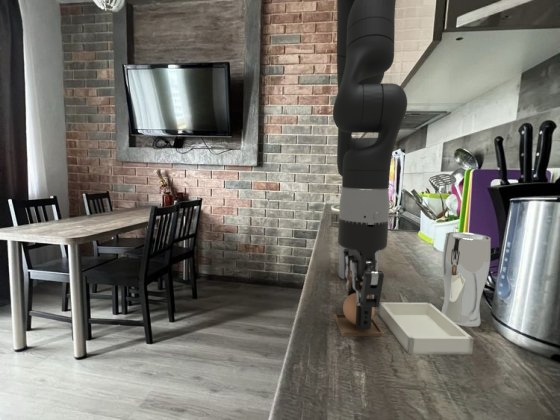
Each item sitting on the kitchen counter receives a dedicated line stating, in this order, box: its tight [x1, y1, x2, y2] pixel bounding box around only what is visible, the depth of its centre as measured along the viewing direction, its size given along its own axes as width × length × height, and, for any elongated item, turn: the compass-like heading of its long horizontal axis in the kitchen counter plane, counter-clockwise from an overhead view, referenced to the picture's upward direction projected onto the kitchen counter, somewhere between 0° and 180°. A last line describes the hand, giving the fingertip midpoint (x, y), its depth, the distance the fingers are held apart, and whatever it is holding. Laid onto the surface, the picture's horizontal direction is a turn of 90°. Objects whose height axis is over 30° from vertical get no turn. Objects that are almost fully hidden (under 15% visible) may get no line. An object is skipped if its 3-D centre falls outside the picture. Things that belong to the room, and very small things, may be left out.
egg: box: [342, 293, 376, 324], centre depth 51 cm, size 5×5×5 cm
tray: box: [378, 301, 475, 356], centre depth 49 cm, size 12×9×3 cm
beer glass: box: [440, 231, 492, 328], centre depth 54 cm, size 7×7×15 cm
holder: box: [332, 313, 386, 338], centre depth 51 cm, size 7×7×1 cm
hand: (358, 319), depth 51 cm, fingers closed on egg, 5 cm apart
